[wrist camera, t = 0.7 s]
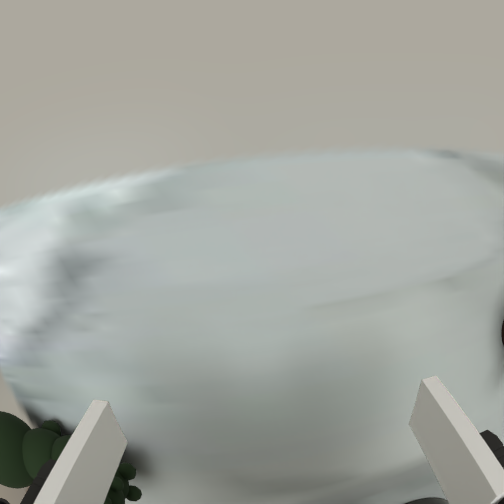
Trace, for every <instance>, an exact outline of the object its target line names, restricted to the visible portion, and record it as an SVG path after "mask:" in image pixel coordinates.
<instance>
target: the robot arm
mask: <svg viewBox="0 0 504 504" xmlns="http://www.w3.org/2000/svg"><path fill="white" fill-rule="evenodd" d="M409 425H410V427H411V429H412V431H413V433H414V435H415V436H416V438H417V440H418V442H419V444H420V446H421V448H422V450H423V452H424V454H425V456H426V458H427V460H428V462H429V464H430V466H431V468H432V470H433V472H434V474H435V476H436V478H437V480H438V482H439V484H440V486H441V488H442V490H443V492H444V494H445V496H446V498H447V500H444V499H440V498H427V499H421V500H417V501H413V502H410V503H407V504H504V446H503V444H502V442H501V441H500V439H499V438H498V437H497V436H496V435H495V434H493V433H492V432H490V431H489V430H486V431H484V432H481V433H479V432H478V431H477V430H476V428H475V427H474V425H473V424H472V423H471V421H470V420H469V418H468V417H467V416H466V414H465V413H464V412H463V410H462V409H461V407H460V406H459V405H458V403H457V402H456V401H455V399H454V398H453V397H452V395H451V394H450V393H449V391H448V390H447V389H446V388H445V386H444V385H443V384H442V382H441V381H440V380H439V378H438V377H437V376H433V377H430V378H426V379H422V380H421V384H420V388H419V391H418V395H417V399H416V402H415V406H414V409H413V412H412V415H411V419H410V422H409ZM127 443H128V442H127V440H126V438H125V436H124V434H123V432H122V430H121V428H120V426H119V424H118V422H117V420H116V418H115V415H114V413H113V411H112V409H111V406H110V404H109V402H108V401H101V400H93V402H92V403H91V405H90V406H89V408H88V410H87V411H86V413H85V414H84V416H83V418H82V419H81V421H80V423H79V424H78V426H77V428H76V429H75V431H74V433H73V434H72V436H71V438H70V439H69V441H68V443H67V445H66V446H65V448H64V450H63V451H62V453H61V455H60V457H59V458H58V460H57V461H56V460H52V459H50V460H49V461H47V462H46V463H45V464H44V465H42V467H41V468H40V470H39V472H38V473H37V477H35V479H34V480H33V484H31V485H30V487H29V489H28V491H27V492H26V494H25V496H24V498H23V500H22V502H21V503H20V504H104V501H105V499H106V496H107V493H108V491H109V488H110V486H111V483H112V481H113V478H114V476H115V473H116V471H117V468H118V466H119V463H120V461H121V458H122V456H123V453H124V451H125V448H126V446H127ZM0 504H9V502H8V501H7V500H5V499H2V498H0Z"/></svg>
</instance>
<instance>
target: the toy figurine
mask: <svg viewBox="0 0 504 504" xmlns="http://www.w3.org/2000/svg"><path fill="white" fill-rule="evenodd" d="M71 436H72V435H64V436H61V429H60V426H59V425H58V423H56V422H54V421H51V420H49V421H44V423H43V424H42V426H41V428H36V429H31V428H30V427H29V426H28V425H27V424H26V423H25V422H24V421H22V420H21V419H19V418H17V417H16V416H14V415H12V414H10V413H6V412H1V411H0V484H2V485H4V486H7V487H11V488H24V487H28V486H30V485H31V484H33V480H34V479H35V477H37V473H38V472H39V470H40V468H41V467H42V465H44V464H45V463H46V462H47V461H49V460H50V459H52V460H56V461H57V460H58V458H59V457H60V455H61V453H62V451H63V450H64V448H65V446H66V445H67V443H68V441H69V439H70V438H71ZM135 476H136V469H135V468H134V467H133V466H132V464H130V463H126V462H125V463H122V464H120V465H119V467H118V468H117V471H116V473H115V476H114V478H113V481H112V483H111V486H110V488H109V491H108V493H107V496H106V499H105V501H104V504H125V498H127V499H128V500H129V501H137V500H139V499H140V498H141V495H142V493H141V490H140V489H139V488H137V487H136V486H131V485H130V486H129V481H128V480H131V479H134V478H135Z"/></svg>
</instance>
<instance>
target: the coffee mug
mask: <svg viewBox="0 0 504 504" xmlns="http://www.w3.org/2000/svg"><path fill="white" fill-rule="evenodd" d="M502 342H503V346H504V321H503V325H502Z"/></svg>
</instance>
